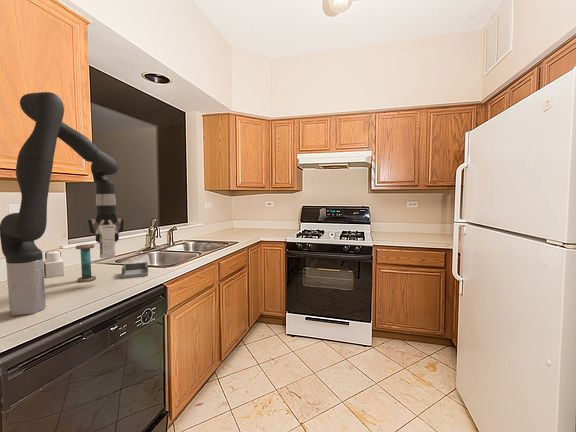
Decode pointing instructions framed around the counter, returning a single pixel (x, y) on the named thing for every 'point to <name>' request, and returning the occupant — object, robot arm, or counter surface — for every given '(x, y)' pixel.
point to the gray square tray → (135, 270)
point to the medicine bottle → (53, 264)
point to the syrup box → (107, 241)
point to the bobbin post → (86, 263)
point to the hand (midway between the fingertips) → (107, 241)
